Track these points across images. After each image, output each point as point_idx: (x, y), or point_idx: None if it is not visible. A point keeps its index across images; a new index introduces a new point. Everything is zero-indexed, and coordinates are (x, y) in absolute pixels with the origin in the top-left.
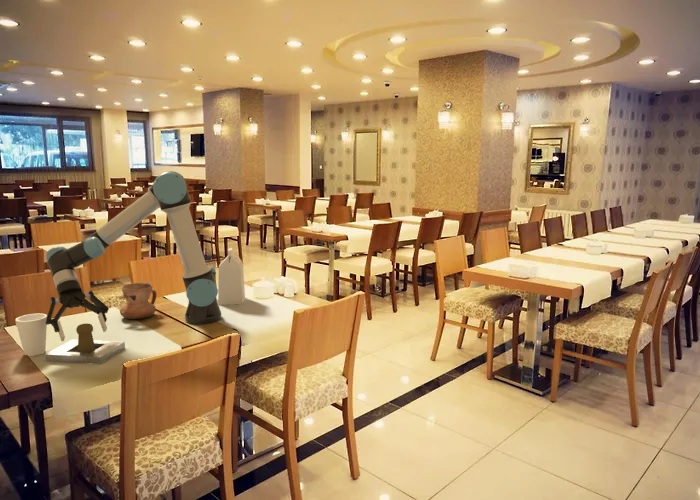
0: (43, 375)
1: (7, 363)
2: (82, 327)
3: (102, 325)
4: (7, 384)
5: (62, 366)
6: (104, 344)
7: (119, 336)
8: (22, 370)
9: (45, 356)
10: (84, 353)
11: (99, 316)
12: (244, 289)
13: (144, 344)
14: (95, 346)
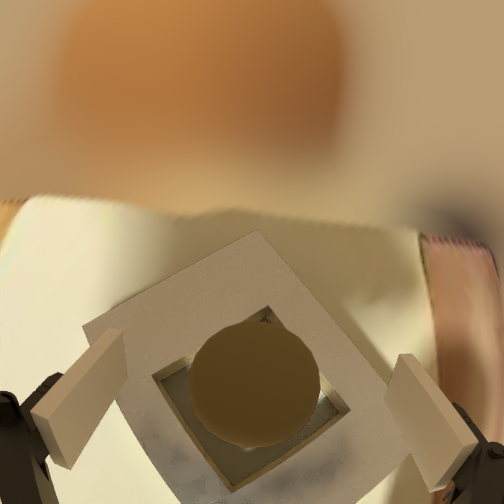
0: (432, 293)
1: None
2: (291, 337)
3: (108, 377)
4: (499, 297)
5: (374, 332)
6: (160, 368)
7: None
8: (475, 386)
9: None
10: (290, 320)
11: (67, 427)
12: None
13: (38, 309)
14: (186, 427)
